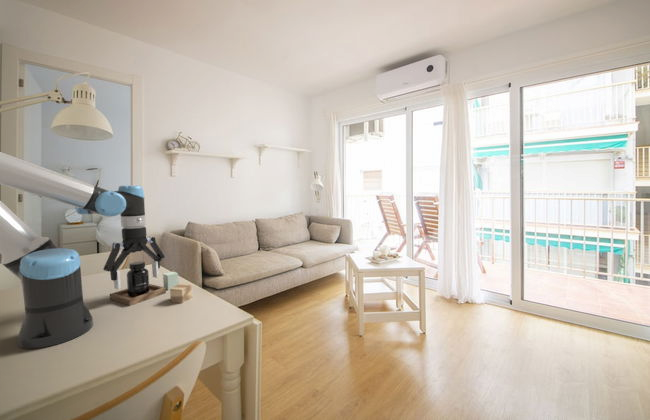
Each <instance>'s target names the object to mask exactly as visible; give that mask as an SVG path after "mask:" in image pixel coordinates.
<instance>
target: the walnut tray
mask: <svg viewBox="0 0 650 420" xmlns="http://www.w3.org/2000/svg"><path fill="white" fill-rule="evenodd" d="M166 293H167V289H166V288H164V286H160V285H156V284H151V283H149V292H148V293H146V294H143V295H140V296H137V297H130V296H128V289H127V288H124V289H122V290H121V289H120V290H118V291H115V292H112V293H110V294H109V300H111V301H114V302H117V303H120V304H123V305H126V306H129V307H130V306H133V305H136V304H138V303H142V302H144V301H147V300H150V299H153V298H155V297H159V296H160V295H164V294H166Z"/></svg>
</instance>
